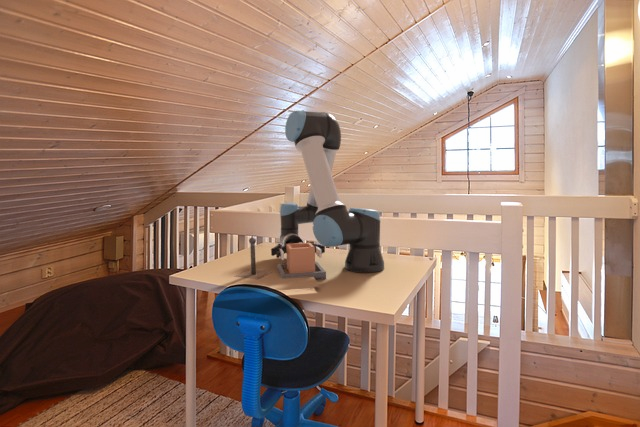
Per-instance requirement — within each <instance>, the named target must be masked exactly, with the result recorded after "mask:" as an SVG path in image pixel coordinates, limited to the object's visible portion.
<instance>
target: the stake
mask: <svg viewBox="0 0 640 427" xmlns="http://www.w3.org/2000/svg"><path fill="white" fill-rule="evenodd" d="M248 242H249V244H250V269H246V270H244V271H242V272H240V273H238V274H235V275H234V276H233V277H235V278H244V279H253V280H260V279H262V278H264V277H265V276H268V275H269V274H271V273H273V271H268V270H259V269H256V268H257V265H256V264H257V263H256V261H257V260H256V242H257V239H256V238H255V237H250V238H249V239H248Z"/></svg>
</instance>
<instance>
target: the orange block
mask: <svg viewBox="0 0 640 427" xmlns="http://www.w3.org/2000/svg"><path fill="white" fill-rule="evenodd" d="M286 252H287V253H286V264H287V267H286V269H287V271H288V274H292V273H306V272H315V262H316V253H315V247H314V246H313V245H312V244H311V243H309V242H303V243H294V244H286Z"/></svg>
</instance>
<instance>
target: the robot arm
mask: <svg viewBox="0 0 640 427" xmlns="http://www.w3.org/2000/svg"><path fill="white" fill-rule="evenodd" d="M284 130H285V136H286V139H287V140H288V141H289V142H290V143H294V146H295V149H296V150H297V151H299V152H301V156H302V159H303V162H304V166H305V170H306V173H307V175H308V179H309V182H310V186H309V187H310V188H309V192H308V197H307V202H306V205H303V206H299V204H298V203H297V202H283V203H281V205H280V209H279V210H280V212H279V215H280V236H279V240H280V243H277V245H275V246H273V247H272V248H271V249H270V251H271V252H270V253H271V256H272V257H274V256H276V258H277V259H278V258H279V259H281V261H284V260H285V254H287V252H286V244H294V243H304V241H303V239H302V238H301V237H300V236H299V225H302V224H304V225H305V224H312V231H313V235H314V238H315V239H316V241H317V242H318V243H319V244H318V243H315V242H311V241H310V242H308V243H311V244H312V245H313V246H314V247H315V255H316V256H317V257H318V258H320V259H321V258H322V257H323V256H322V255H323V254H324V253H325V252H326V249H325V248H326V247H327V248H331V247H332V248H333V247H334V248H337V247H339V246H345V245H349V248H348V251H347V255H346V258H345V260H344V268H345V270H347V271H350V272H353V273H361V274H362V273H365V274H367V273H377V272H378V273H379V272H381V271H383V270H384V269H385V260H384V258H383V255H382V254H383V253H382V252H381V247H380V246H381V244H380V243H381V218H380V217H381V215H380V214H381V213H380V212H379V211H378V210H377V209H370V208H363V207H362V208H361V207H349V210H348V208H347V205H346V204H344V203H342V202H341V199H340V197H339V196H340V195H339V194H338V191H337V187H336V184H335V180H334V177H333V174H332V171H333V167H334V162H335V158H336V154H337V152H338V151H339V150H340V149H341V148H340V147H341V142H342V133H341V126H340V123H339V122H338V120H337V119H336V118H335V116H334V115H332V114H331V113H328V112H326V111H325V112H321V111H320V112H318V111H307V110H306V111H305V110H303V109H302V110H293V111H292V112H291V113H290V114H289V115H288V117H287V119H286V123H285V128H284Z"/></svg>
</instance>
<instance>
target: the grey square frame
mask: <svg viewBox="0 0 640 427" xmlns="http://www.w3.org/2000/svg"><path fill="white" fill-rule="evenodd" d="M276 266H277V270H278V271H279V272H278V273H279V274H280V276H281V279H288V278H289V279H290V278H301V277H302V278H303V277H313V278H314V280H316V281H317V280H327V271H326V270H325V269H324V267H322V266H321V264H320V263H319V262H318V261H315V272H306V273H292V274H290V273H285V271H284V268H287V263H278V264H276Z"/></svg>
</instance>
